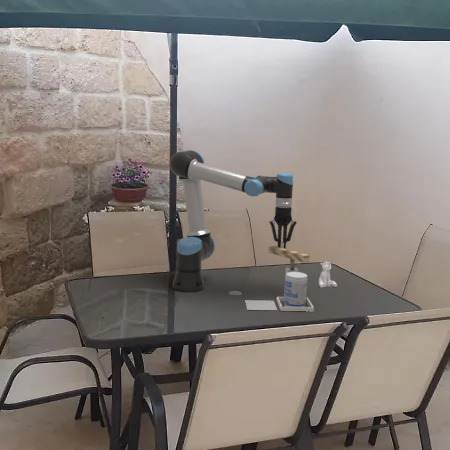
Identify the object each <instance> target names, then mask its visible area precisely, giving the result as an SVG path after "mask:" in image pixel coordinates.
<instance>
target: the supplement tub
mask: <svg viewBox="0 0 450 450" xmlns="http://www.w3.org/2000/svg"><path fill="white" fill-rule="evenodd" d="M285 274H286V278H285V277H284V278H285V279H284V292H283V293H284V294H283V297H284V302H283V307H306V303H307V302H306V297H307V286H308V275H307V274H306V273H304V272H300V271H298V272H288V273H286V272H285Z"/></svg>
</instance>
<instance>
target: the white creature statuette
mask: <svg viewBox="0 0 450 450" xmlns="http://www.w3.org/2000/svg"><path fill="white" fill-rule="evenodd" d="M319 264H320V266H321V267H322V271H321V272H320V276H319V278H318V286H319V287H320V289H322V288H326V287H334V288H337V287H338V283H337V282H336V281H334V280H332V279H331V273H330V272H331V269H332V263H331V262H329V261H324V262H323V263H322V262H320V263H319Z"/></svg>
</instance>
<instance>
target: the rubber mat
mask: <svg viewBox="0 0 450 450" xmlns="http://www.w3.org/2000/svg"><path fill="white" fill-rule="evenodd" d="M245 303H246V304H245ZM244 304H245V306H246V311H248V310H277V311H278V308H277V306H276V303H275V300H264V299H263V300H262V299H260V300H259V299H258V300H255V299H254V300H252V299H249V300H248V299H245V300H244Z"/></svg>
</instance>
